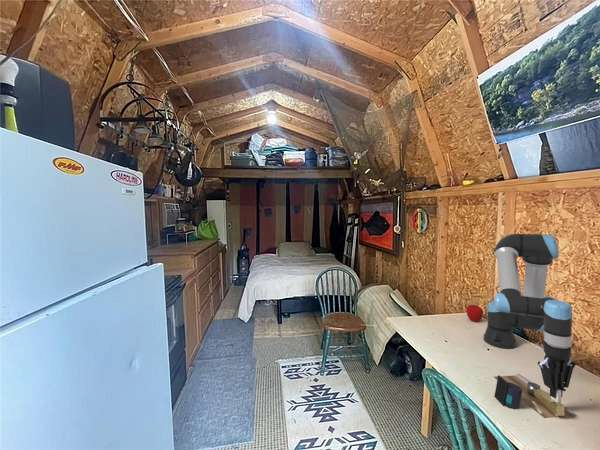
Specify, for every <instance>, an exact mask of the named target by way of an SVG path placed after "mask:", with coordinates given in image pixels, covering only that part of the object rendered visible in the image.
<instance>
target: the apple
mask: <svg viewBox="0 0 600 450" xmlns="http://www.w3.org/2000/svg"><path fill="white" fill-rule="evenodd" d="M465 309H466V310H465V312H466V316H467V318H468V320H470V321H471V322H475V323H476V322H478V323H479V322H481V320H482V318H483V316H484V310H483V308H482V307H480V306H478V305H474V304H471V305H468V306H466V308H465Z"/></svg>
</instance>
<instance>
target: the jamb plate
mask: <svg viewBox="0 0 600 450" xmlns="http://www.w3.org/2000/svg"><path fill="white" fill-rule="evenodd" d="M500 376H501V377H502V378H503V379H504V380H505V381H506V382H510V383H513V384H515V385H517V386H519V387H520V388H521V389H522V390H523V391H522V396H521V401H523V402H524V403H525V404H526V405H527V406H529V407H530V408H531V409H532V410H533V411H535V412H536V413H537V414H538V415H540V416H541V417H542V418H544V419H550V418H552V419H553V418H566V417H576V416H577V414H576V413H575V412H574V411H572V410H571V409H569V408H568V407H567V406H565V409H564V416H557V415H555V414H554V413H553V412H552V411H551V410H550V409H549V408H548V407H546V406H545V405H544V404H543V403H542V402H541V401H540V400H539V399H538V398H536V397H533V396H531V395H529V394H528V393H527V384H528V382H531V381H530V380H529V379H527V378H526V377H524V376H523V375H521V373H515V375H500ZM493 378H495V380H497V379H498V375H497V376H493ZM544 392H545V393H546V394H548V393H547V392H546V391H544ZM548 395H549V396H550V394H548ZM550 397H551V396H550Z"/></svg>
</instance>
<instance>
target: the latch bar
mask: <svg viewBox="0 0 600 450" xmlns="http://www.w3.org/2000/svg"><path fill="white" fill-rule="evenodd" d="M545 392H546V391H544V390H543V389H542V388H541V386H540V385H539V384H538V383H536V382H531V381H530V382H528V384H527V393H528V394H529V395H531V396H533V397H536V398H538V399H539V400H540V401H541V402H542V403H543V404H544V405H545V406H546V407H548V408H549V409H550V410H551V411H552V412H553V413H554V414H555V415H557V416H564V409H565V407H566V406H565V405H564V404H563V403H562V402H561V403H560V402H556V401H555V400H553V399H552V398H551V397H550V396H549V395H550V394H549V393H547V392H546V393H547V394H546V393H545Z"/></svg>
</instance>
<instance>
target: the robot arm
mask: <svg viewBox="0 0 600 450" xmlns="http://www.w3.org/2000/svg"><path fill="white" fill-rule="evenodd" d="M494 257H495V259H496V261H497V273H498V286H499V287H498V288H499V292H497V293H495V294H494V300H492V301H489V302H488V304H487V325H486V326H487V327H486V330H485V332H484V334H483V341H484V342H485V343H486V344H489V345H490V346H492V347H496V348H500V349H507V350H508V349H509V350H510V349H515V348H517V340H516V336H515V334H514V328H517V329H525V330H530V331H531V330H532V331H535V332H543V352H544V354H545V355H544V357H543V361H538V362H537V365H538V367H540V368H539V369H540V372H541V377H542V380H543V385H544V386H546V387H547V388H548V389H549V395H550V396H551V398H552V399H553V400H555V401H556V402H560V403H561V404H562V398H563V392H566V391H567V388H569V387H570V386H569V385H570V382H571V378H572V375H573V371H574V368H575V367H576V365H577V363H576V362H575V361H572V360H571V359H570V358H571V357H572V326H573V325H572V324H573V315H574V314H573V307H572V305H571V304H570V303H567V302H565V301H561V300H558V299H557V298H555V297H552V296H550V295H549V296H548V295H546V286H547V279H548V268H549V266H550V265H552V264H553V261H554V260H558V259H559V247H558V242H557V239H556V237H555V235H552V234H544V233H540V234H539V233H536V234H535V233H511V234H508V235H505V236H504V237H502V238H501V239H500V240H499V241H498V242H497V243H496V245H495V247H494ZM518 258H521V259H522V261H523V262H524V263H525V266H524V280H523V283H524V284H523V293H522V291H521V282H520V275H519V274H520V273H519V267H518ZM522 294H523V295H522Z"/></svg>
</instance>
